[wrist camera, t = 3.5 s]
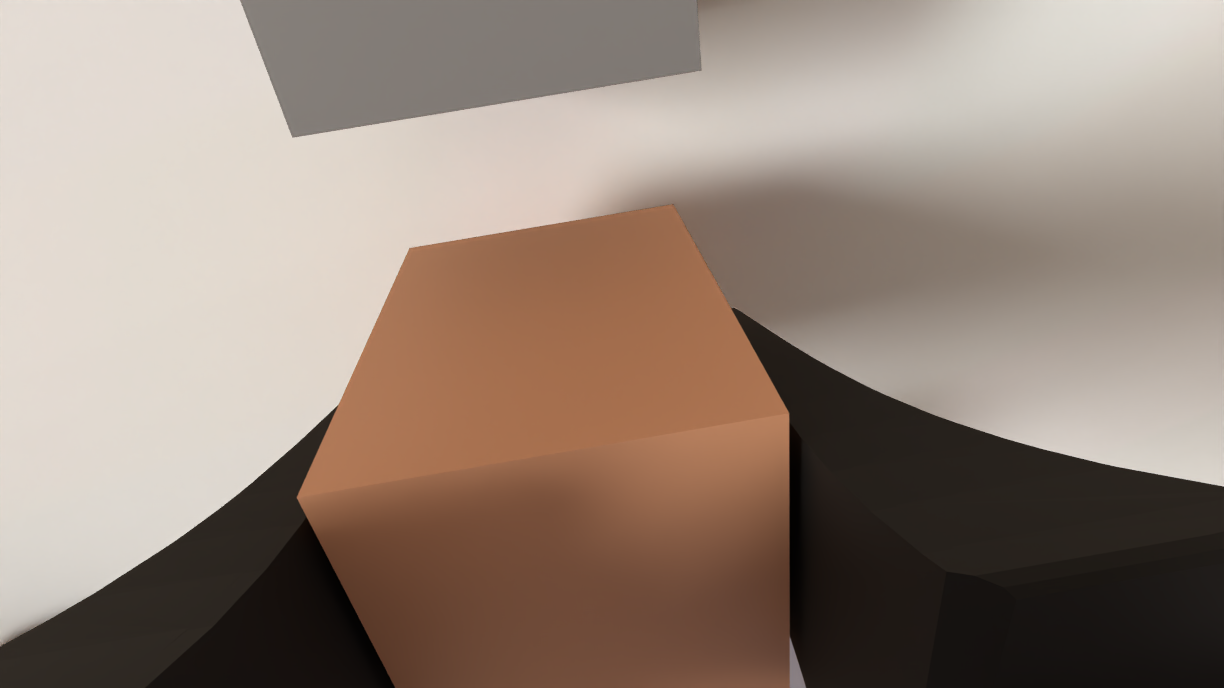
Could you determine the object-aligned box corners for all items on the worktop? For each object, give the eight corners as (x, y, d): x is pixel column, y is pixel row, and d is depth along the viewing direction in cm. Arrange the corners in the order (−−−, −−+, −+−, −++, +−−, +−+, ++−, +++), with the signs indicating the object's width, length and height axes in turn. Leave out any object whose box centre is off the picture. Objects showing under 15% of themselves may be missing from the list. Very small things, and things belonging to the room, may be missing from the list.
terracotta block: (693, 416, 13) (789, 699, 8) (474, 453, 13) (434, 763, 8) (672, 204, 11) (789, 413, 6) (409, 247, 11) (296, 497, 6)
